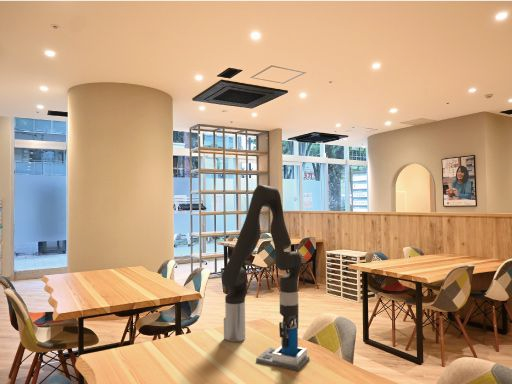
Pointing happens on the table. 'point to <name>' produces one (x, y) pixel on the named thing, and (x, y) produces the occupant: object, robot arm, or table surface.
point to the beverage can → (291, 342)
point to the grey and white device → (284, 358)
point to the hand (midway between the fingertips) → (289, 344)
